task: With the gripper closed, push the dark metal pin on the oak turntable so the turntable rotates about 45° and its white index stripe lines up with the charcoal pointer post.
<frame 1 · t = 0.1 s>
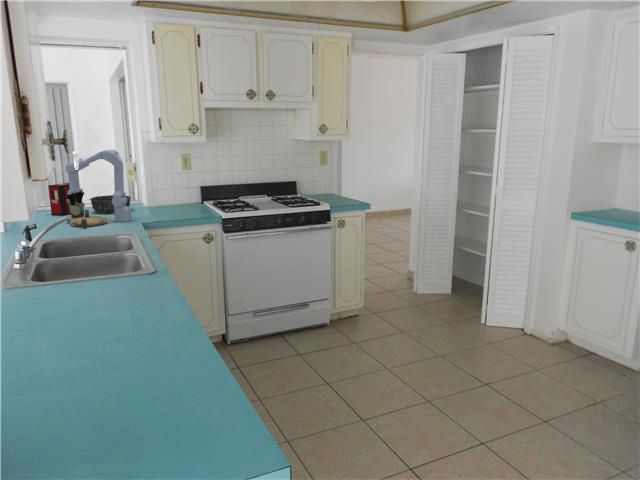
hand: (76, 204, 307), 10 cm above the worktop, fingers open, 7 cm apart
cleaning product box: (66, 214, 333), on the worktop
bundt pan: (112, 212, 342), on the worktop
food container: (80, 218, 318), on the worktop
pointer post: (84, 228, 286), on the worktop
turntable: (88, 217, 297), point 4 cm above the worktop, hinge at 0.0°
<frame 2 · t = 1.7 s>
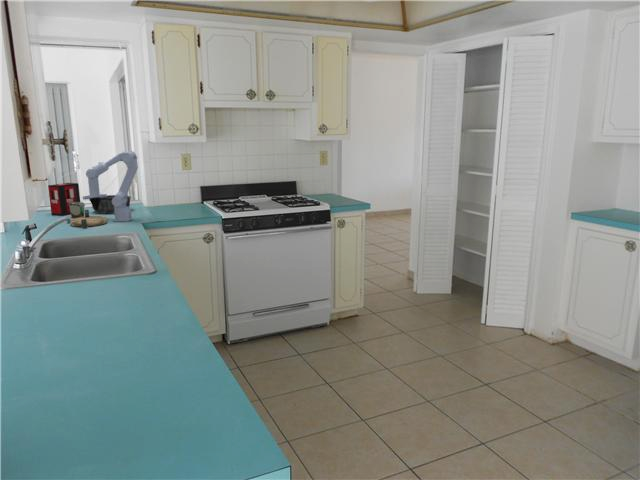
hand: (96, 209, 308), 7 cm above the worktop, fingers closed
nothing on the worktop moved.
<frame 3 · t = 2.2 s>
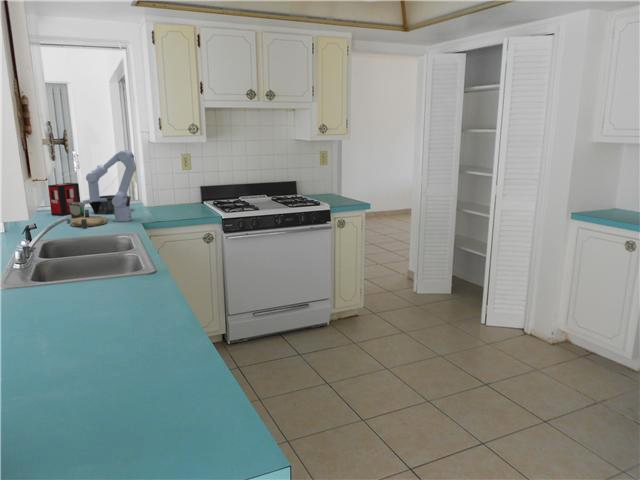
hand: (96, 213, 308), 4 cm above the worktop, fingers closed
nothing on the worktop moved.
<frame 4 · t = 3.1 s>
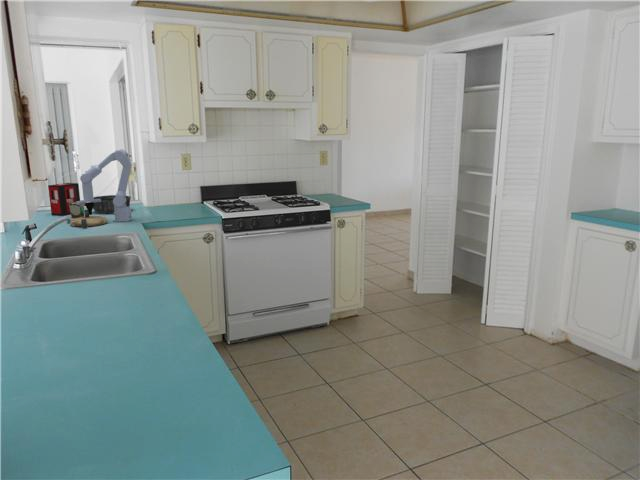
hand: (90, 214, 305), 4 cm above the worktop, fingers closed, pressing on turntable
turntable: (88, 217, 297), point 4 cm above the worktop, hinge at 0.4°, touching gripper
everything else where it was.
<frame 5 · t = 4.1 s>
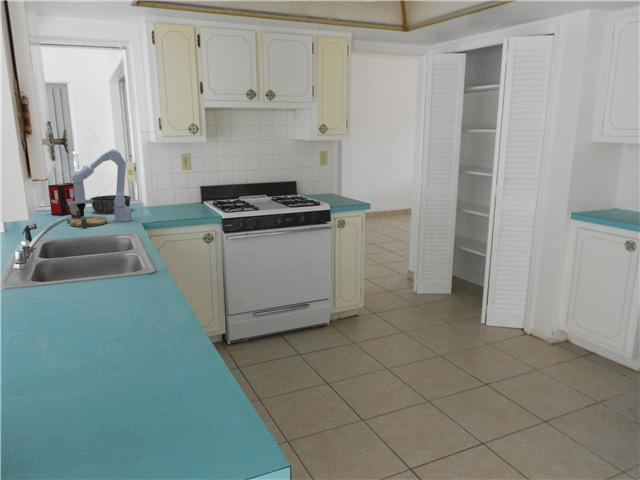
hand: (82, 215, 302), 4 cm above the worktop, fingers closed
turntable: (88, 217, 297), point 4 cm above the worktop, hinge at 36.5°, touching gripper
everything else where it was.
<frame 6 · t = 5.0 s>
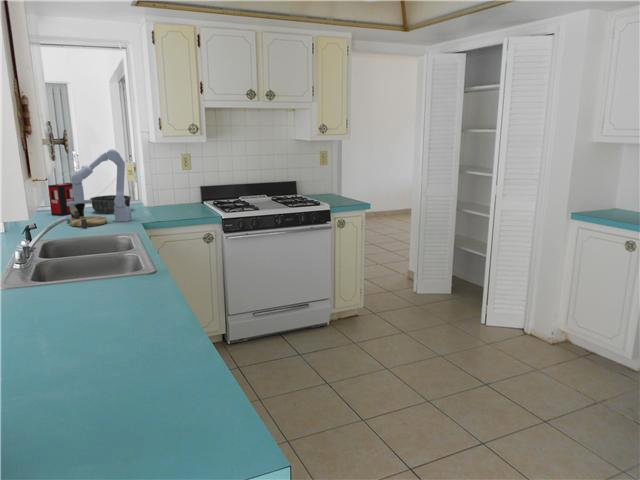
hand: (81, 216, 301), 4 cm above the worktop, fingers closed
turntable: (88, 217, 297), point 4 cm above the worktop, hinge at 45.0°, touching gripper
everything else where it was.
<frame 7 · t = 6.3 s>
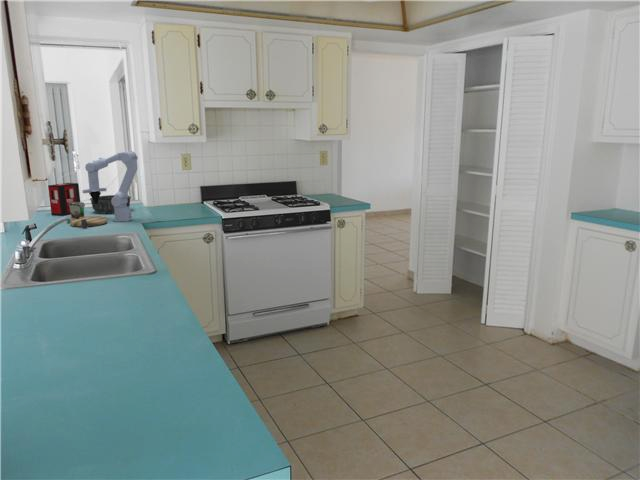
hand: (96, 203, 309), 10 cm above the worktop, fingers closed
turntable: (88, 217, 297), point 4 cm above the worktop, hinge at 45.0°
everything else where it was.
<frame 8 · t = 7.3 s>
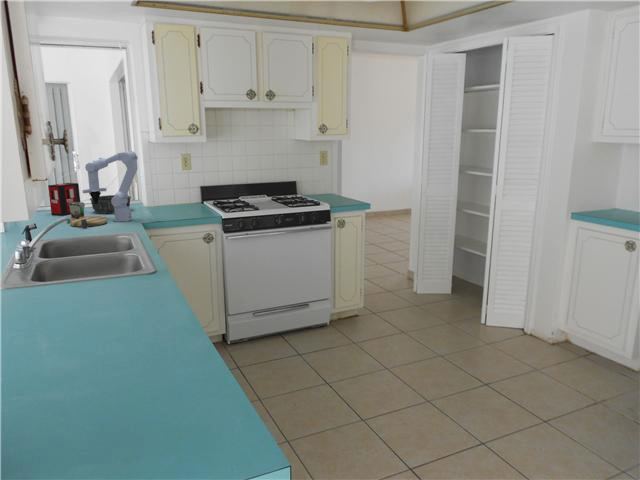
hand: (96, 203, 309), 10 cm above the worktop, fingers closed
nothing on the worktop moved.
at the end: turntable at +45° (first picture: +0°); food container moved 0.2 cm from its start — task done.
